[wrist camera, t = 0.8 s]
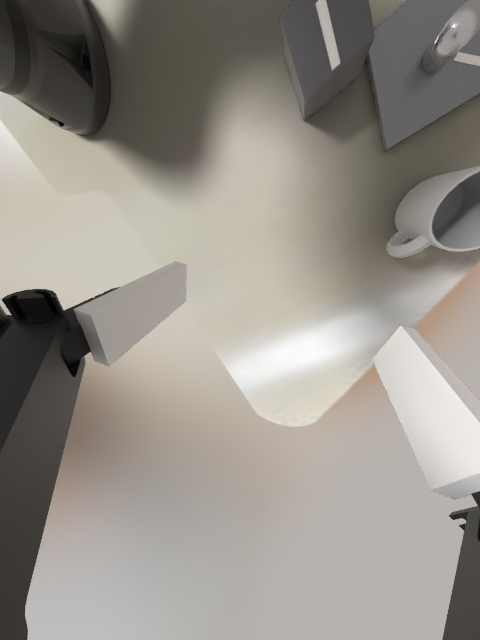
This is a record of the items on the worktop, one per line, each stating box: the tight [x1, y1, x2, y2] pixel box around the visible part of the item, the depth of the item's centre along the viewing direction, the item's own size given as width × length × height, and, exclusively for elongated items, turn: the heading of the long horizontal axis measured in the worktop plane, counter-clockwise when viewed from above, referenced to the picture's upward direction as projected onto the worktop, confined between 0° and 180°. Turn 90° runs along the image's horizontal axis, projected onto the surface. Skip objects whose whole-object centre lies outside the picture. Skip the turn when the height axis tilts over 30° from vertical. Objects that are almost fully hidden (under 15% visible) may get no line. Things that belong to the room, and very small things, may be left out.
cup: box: [386, 166, 480, 258], centre depth 21 cm, size 7×10×9 cm
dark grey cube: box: [280, 0, 375, 121], centre depth 18 cm, size 6×6×6 cm
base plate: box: [366, 0, 480, 151], centre depth 17 cm, size 10×10×4 cm
